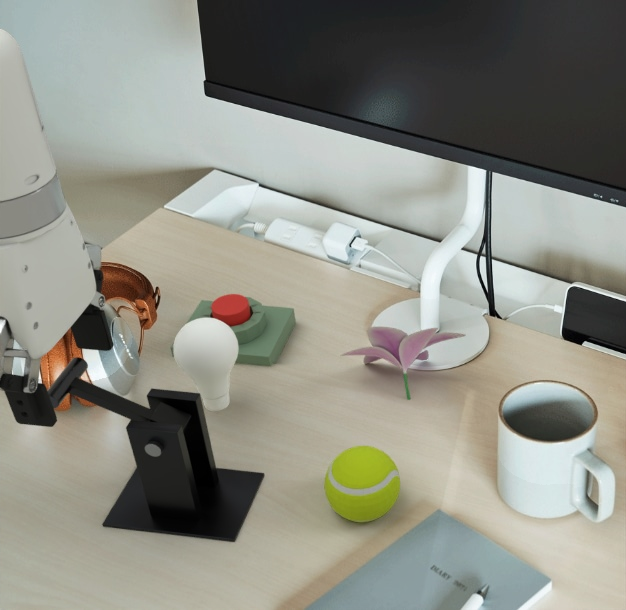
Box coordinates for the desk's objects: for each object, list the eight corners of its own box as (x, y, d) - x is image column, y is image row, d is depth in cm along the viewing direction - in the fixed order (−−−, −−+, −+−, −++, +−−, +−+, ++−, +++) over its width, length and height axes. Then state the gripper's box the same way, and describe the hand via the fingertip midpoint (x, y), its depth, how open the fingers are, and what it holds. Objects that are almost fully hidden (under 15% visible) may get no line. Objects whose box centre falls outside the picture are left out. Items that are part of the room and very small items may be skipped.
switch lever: (39, 407, 75) (44, 388, 74) (69, 369, 79) (74, 350, 78) (167, 461, 77) (174, 444, 76) (191, 421, 81) (198, 403, 80)
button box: (173, 363, 101) (167, 334, 98) (204, 315, 108) (199, 286, 106) (271, 372, 100) (266, 343, 97) (295, 323, 107) (292, 295, 104)
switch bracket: (104, 533, 81) (72, 435, 74) (143, 468, 88) (117, 372, 81) (236, 548, 80) (215, 451, 73) (265, 481, 87) (249, 386, 80)
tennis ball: (379, 548, 80) (375, 494, 76) (313, 524, 82) (306, 470, 79) (414, 495, 85) (412, 442, 82) (351, 474, 87) (346, 421, 84)
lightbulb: (176, 424, 93) (155, 337, 86) (205, 385, 98) (187, 301, 91) (232, 434, 92) (215, 347, 85) (258, 395, 96) (244, 310, 90)
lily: (481, 383, 100) (465, 297, 99) (445, 415, 89) (427, 319, 88) (382, 394, 104) (365, 311, 103) (335, 426, 93) (316, 334, 92)
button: (208, 326, 100) (205, 313, 99) (221, 305, 103) (218, 292, 102) (243, 329, 100) (241, 316, 99) (255, 308, 103) (253, 295, 102)
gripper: (23, 147, 74) (76, 319, 84) (-119, 262, 60) (-35, 452, 70) (111, 153, 73) (154, 325, 83) (-12, 270, 59) (58, 461, 69)
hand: (68, 383), depth 77 cm, fingers open, 9 cm apart
